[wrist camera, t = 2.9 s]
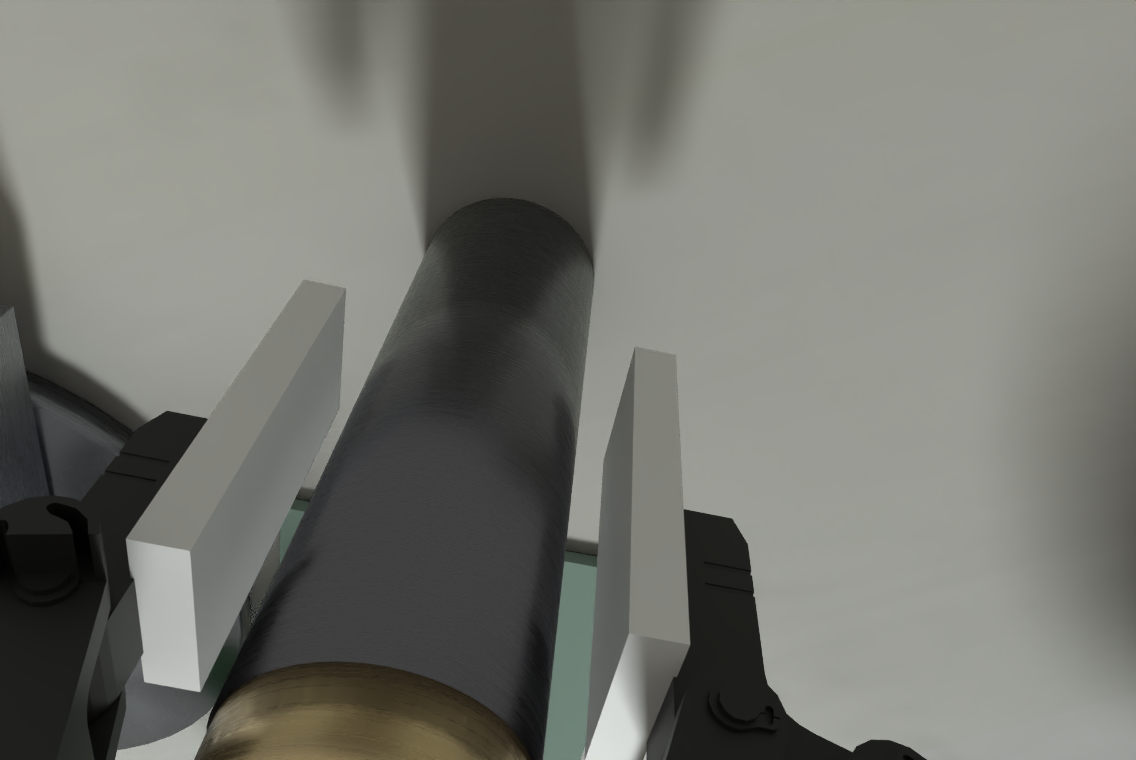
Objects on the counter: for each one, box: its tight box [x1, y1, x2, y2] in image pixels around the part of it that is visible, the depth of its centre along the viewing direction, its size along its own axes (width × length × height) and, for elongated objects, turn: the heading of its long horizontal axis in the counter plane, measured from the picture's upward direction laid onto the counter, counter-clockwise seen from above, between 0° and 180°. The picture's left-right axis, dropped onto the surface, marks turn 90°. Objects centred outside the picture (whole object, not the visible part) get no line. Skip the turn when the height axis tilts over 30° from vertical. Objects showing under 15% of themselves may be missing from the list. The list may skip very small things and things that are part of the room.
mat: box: [280, 499, 597, 760], centre depth 27 cm, size 10×10×1 cm
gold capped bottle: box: [194, 198, 594, 760], centre depth 14 cm, size 4×4×14 cm
